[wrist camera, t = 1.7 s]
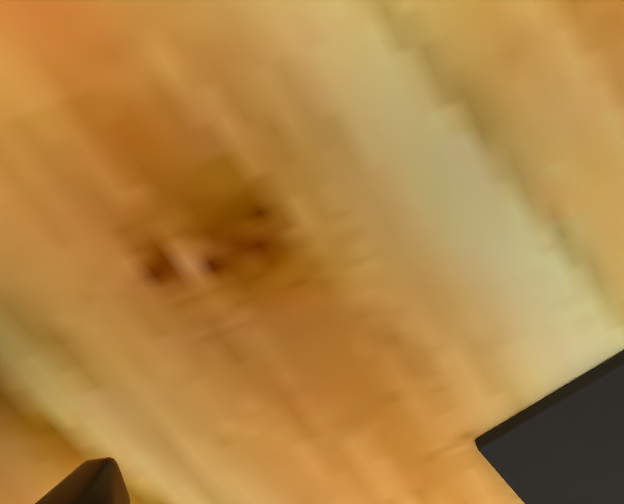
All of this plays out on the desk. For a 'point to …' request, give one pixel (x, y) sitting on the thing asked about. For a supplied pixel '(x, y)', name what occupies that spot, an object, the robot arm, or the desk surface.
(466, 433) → the desk surface
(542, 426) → the desk pad
